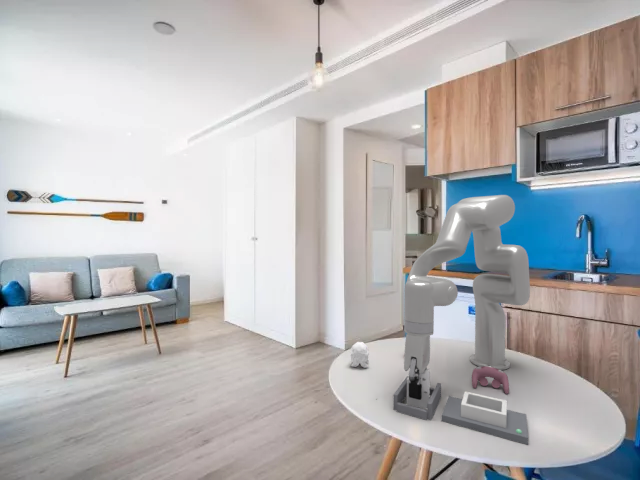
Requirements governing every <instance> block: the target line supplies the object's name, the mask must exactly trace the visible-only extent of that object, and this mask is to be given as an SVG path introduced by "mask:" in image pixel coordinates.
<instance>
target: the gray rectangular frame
mask: <svg viewBox="0 0 640 480" xmlns="http://www.w3.org/2000/svg"><path fill="white" fill-rule="evenodd" d="M408 377H409V375H407V376H406V377H405V378H404V380H403V381H402V382H401V383H400V385H399V386H398V387H397V389H396V390H395V391H394V393H393V395H392V396H393V397H392V401H393V402H392V408H393V409H392V410H394V411H396V413H401V414H404V415H408V416H410V417H414V418H418V419H422V420H425V421H427V420H430V421H432V420H433V417H434V415H435V413H436V410H437V408H438V406H439V404H440V401H441V399H442V383H440V382H437V383H436V385H435V387H431V386H430V399H429V401H428V403H427V408H421V407H415V406H410V405H407V403H406V404H405V403H403V402H404V401H405V399H407V378H408Z"/></svg>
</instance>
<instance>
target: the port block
mask: <svg viewBox="0 0 640 480" xmlns="http://www.w3.org/2000/svg"><path fill="white" fill-rule="evenodd" d="M507 405H508V401H507V400H506V399H501V398H496V397H492V396H487V395H484V394H478V393H473V392H469V391H464V394H463V397H462V398H459V397H455V396H452V395H448V398H447V400H446V402H445V405H444V407H443V410H442V412H441V417H440V419H441V422H445V423H448V424H452V425H455V426H458V427H461V428H462V427H463V428H466V429H469V430H473V431H478V432H480V433H485V434H486V435H487V434H488V435H491V436H494V437H499V438H502V439H506V440H510V441H513V442H515V443H516V442H517V443H521V444H524V445H528V446H529V433H528V419H527V418H528V417H527V413H523V412H518V411H514V410H510V409H508V406H507Z"/></svg>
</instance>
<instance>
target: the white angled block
mask: <svg viewBox="0 0 640 480" xmlns="http://www.w3.org/2000/svg"><path fill="white" fill-rule="evenodd" d="M430 374H431V368H427V370H425V371H424V372H423V373H422V374H421V382H420V384H422V398H421V400H418V399H414V398H410V397H409V377H408V378H407V396H406V405H410V406H414V407H417V408H421V409H427V403H428V401H429V399H430V397H431V396H430V387H431V384H430V383H431V382H430V377H431V376H430ZM415 376H417V379H418V374H415Z"/></svg>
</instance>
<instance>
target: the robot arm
mask: <svg viewBox="0 0 640 480" xmlns="http://www.w3.org/2000/svg"><path fill="white" fill-rule="evenodd" d="M515 211H516V205H515V202H514V200H513V198H512V197H511V196H509V195H507V194H498V195H496V194H495V195H485V196H472V197H471V196H470V197H467V198H462V199H461V200H459V201H457V203H455V204H453V205H451V206H450V207H449V209H447V212H446V215H445V217H444V220H443V223H442V226H441V228H440V231H439V233H438V236H437V239H436V242H435V243H434V244H433V245H432V246H430V247H428V248H427V249H426V250H425V251H424V252H422V254H420V256H419V257H417V258H416V260H415V261H414V262H413V264H412V266H411V267H410V268H411V269H410V271H409V273H408V276H407V278H406V283H404V284H405V285H404V323H403V324H404V325H403V326H404V327H403V328H404V333H406V334H405V343H404V357H403V358H404V359H403V360H404V361H403V369H404V371H405V372H407V371H408V376H409V397H410V398H414V399H418V400H421V398H422V384H420V382H421V374H422V373H423V372H424V371H425V370H427V369H428V366H429V364H430V359H431V336H433V335H434V332H435V331H434V325H435V324H434V321H435V319H434V315H435V314H434V312H435V311H434V309H435V307H446V306H451V305H452V304H453V303H455V301H456V300H457V298H458V294H459V293H458V292H459V291H458V288H457V285H456V284H455V283H454V282H453V281H452V280H449V279H448V278H447V279H446V278H443V277H442V278H441V277H433V276H428V274H429V273H430V272H431V270H433V269H434V268H435V267H437V266H438V265H441V264H444V263H447V262H449V261H452V260H455V259H457V258H460V257H462V256H463V255H464V254H465V253H466V250H467V246H468V244H469V241H470V238H471V234H472V235H473V237H472V238H473V247H474V249H473V250H474V258H475V259H474V260H475V265H476V267H477V268H478V269H479V270H481V271H484V272H490V273H482V274H479V275H477V276H475V278H474V279H473V281H472V292H473V296H474V303H475V304H474V308H475V310H474V312H475V315H474V319H475V321H474V322H475V323H474V325H475V326H474V354H472V355H470V357H469V361H470V362H471V363H472V365H473V364H474V365H475V366H477V367H483V366H486V367H493V368H496V369H499V370H501V371H505V370H507V369H509V368H511V362H510V361H509V360H507V359H506V314H505V310H504V308H503V307H502V305H501V304H505V305H511V306H512V305H513V306H525V305H526V304H528V302H529V300H530V296H531V285H530V283H531V282H530V281H531V280H530V268H529V267H530V266H529V265H530V264H529V256H528V253H527V250H526V249H525V248H524V247H523V246H521V245H516V244H503V242H502V235H501V234H502V233H501V228H500V227H501V226H502V225H504V224H506V223H508V222H509V221H511V219H512V218H513V217H514V214H515ZM491 272H492V273H491ZM494 273H504V274H508V275H503V274H494ZM415 374H418V379H417V376H415Z"/></svg>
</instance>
